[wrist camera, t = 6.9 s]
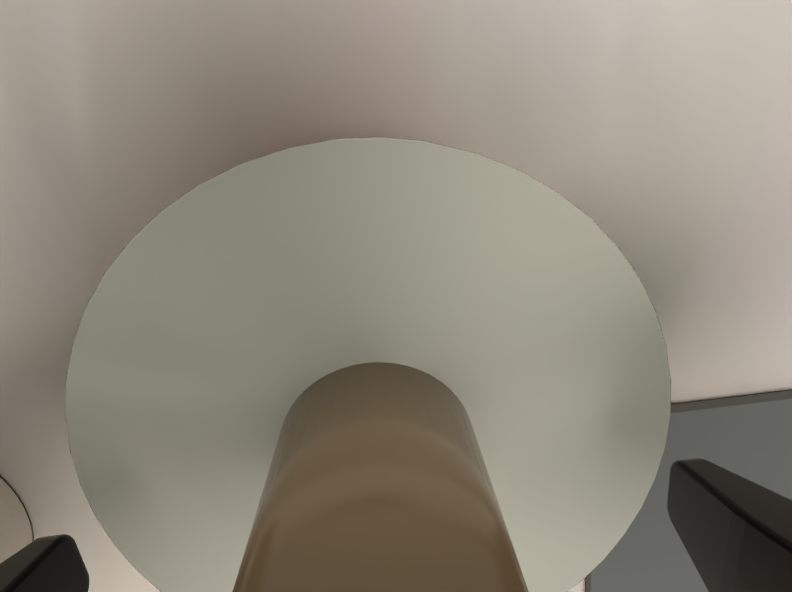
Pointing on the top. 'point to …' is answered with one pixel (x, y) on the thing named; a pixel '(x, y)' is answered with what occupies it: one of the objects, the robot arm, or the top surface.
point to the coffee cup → (12, 523)
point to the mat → (720, 444)
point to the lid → (368, 380)
